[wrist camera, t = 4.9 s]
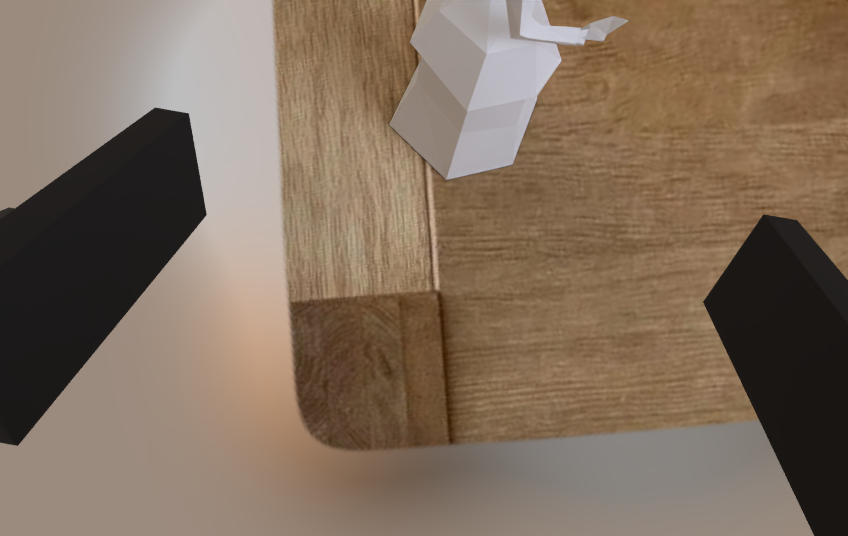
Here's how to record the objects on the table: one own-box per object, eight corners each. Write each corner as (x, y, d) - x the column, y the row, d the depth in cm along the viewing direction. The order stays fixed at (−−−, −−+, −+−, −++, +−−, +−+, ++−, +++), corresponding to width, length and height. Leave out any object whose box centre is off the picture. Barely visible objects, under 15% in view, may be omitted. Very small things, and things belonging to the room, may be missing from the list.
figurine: (552, 154, 27) (838, -174, 9) (407, 192, 26) (392, -69, 8) (516, 33, 27) (714, -509, 9) (373, 68, 27) (292, -423, 9)
